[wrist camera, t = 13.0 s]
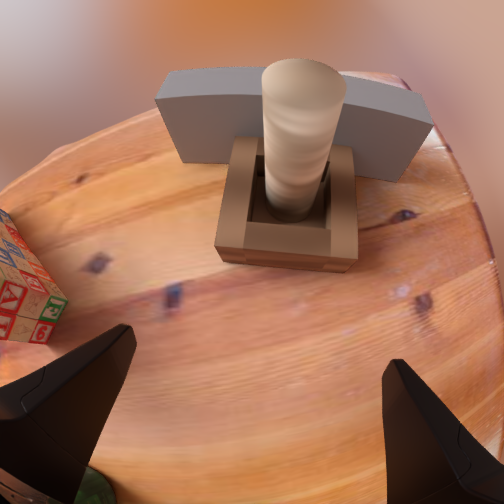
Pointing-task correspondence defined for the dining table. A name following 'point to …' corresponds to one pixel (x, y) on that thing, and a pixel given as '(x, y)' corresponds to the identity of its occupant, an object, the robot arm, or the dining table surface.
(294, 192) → the dowel
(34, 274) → the stack of blocks
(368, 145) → the board
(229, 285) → the dining table surface
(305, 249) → the socket block
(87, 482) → the coffee jar
